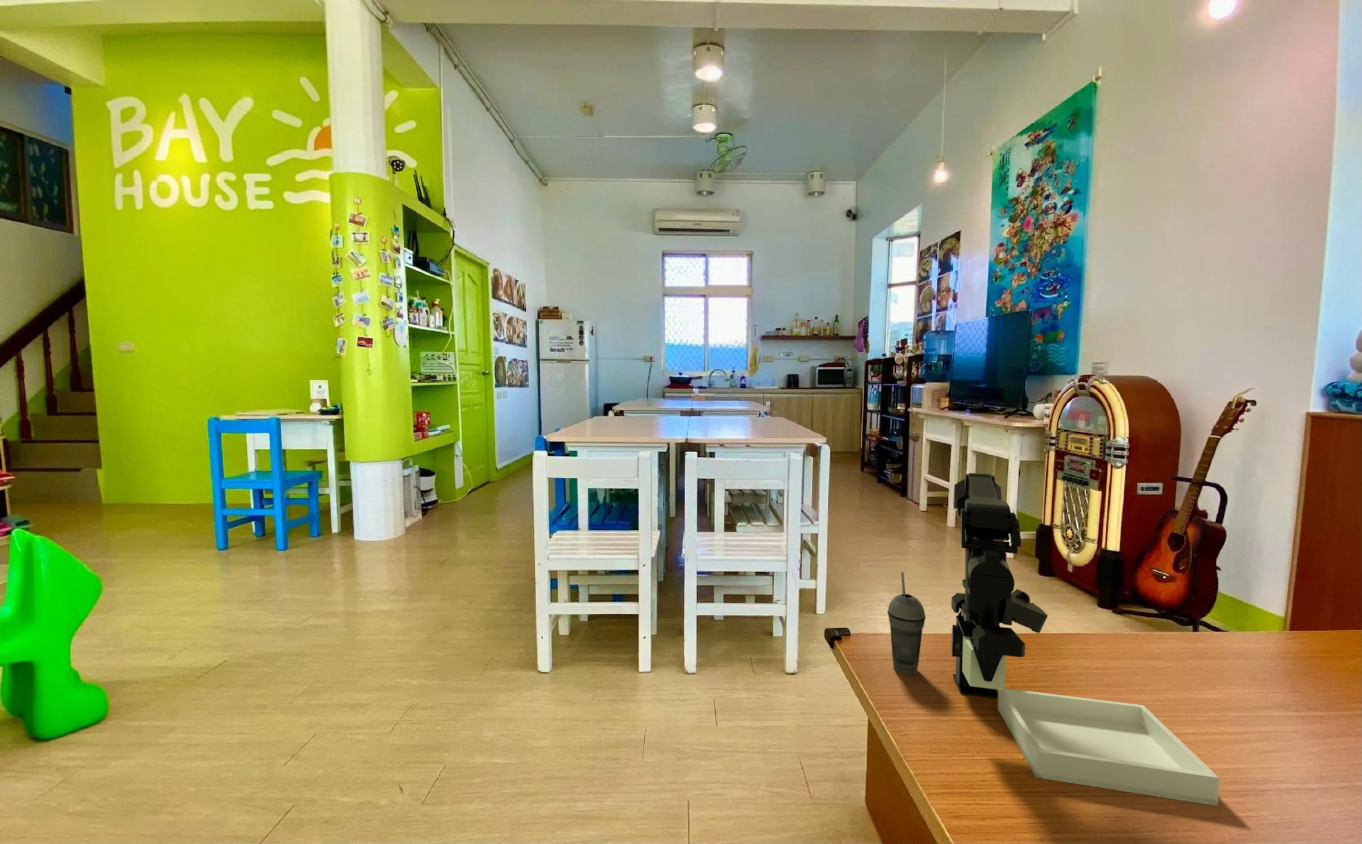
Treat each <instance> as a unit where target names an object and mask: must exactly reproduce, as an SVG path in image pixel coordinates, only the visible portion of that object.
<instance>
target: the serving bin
mask: <svg viewBox="0 0 1362 844" xmlns="http://www.w3.org/2000/svg"><path fill="white" fill-rule="evenodd" d="M997 693H998V697H997V711H998V712H999V714H1000V716H1001V718H1002V719H1003V721H1004V722H1005V725H1006V727H1007V728H1008V730H1009V732H1010V734H1011V735H1012V737H1013V739H1014V741H1015V742H1016V744H1017V746H1018V748H1019V750H1020V752H1022V754H1023V756H1024V759H1025V761H1026V762H1027V764H1028V766H1029V767H1030V770H1031V771H1032V772H1033V774H1034V776H1035V778H1036V779H1043V780H1048V781H1049V780H1050V781H1056V782H1061V783H1062V782H1063V783H1070V784H1076V785H1083V786H1088V787H1095V788H1100V789H1107V790H1114V791H1120V792H1125V793H1132V794H1138V795H1139V794H1140V795H1143V796H1144V795H1145V796H1152V797H1157V798H1164V799H1169V800H1170V799H1171V800H1177V801H1183V802H1190V803H1195V804H1196V803H1197V804H1202V805H1208V806H1215V807H1218V806H1219V787H1220V777H1218V775H1216V774H1215V772H1214V771H1212V769H1210V768H1209V767H1208V766H1207V765H1206V764H1205V763H1204V762H1203V761H1202V760H1201V759H1200V758H1199V757H1198V756H1197V755H1196V754H1195V753H1194V752H1193V751H1192V750H1190V748H1188V746H1187V745H1185V743H1183V742H1182V740H1180V739H1179V738H1178V737H1177V736H1176V735H1175V734H1174V733H1173V732H1172V731H1171V730H1170V729H1169V728H1167V726H1166V725H1165V724H1164V723H1162V722H1161V720H1160V719H1158V718H1157V717H1156V716H1155V715H1154V714H1153V713H1152V712H1151V711H1150V710H1149V709H1148V708H1147V707H1146V706H1145V705H1144V704H1136V703H1129V702H1128V703H1127V702H1118V701H1111V700H1104V699H1095V698H1087V697H1079V696H1078V697H1077V696H1071V695H1062V694H1055V693H1053V694H1052V693H1047V692H1038V691H1029V690H1022V689H1021V690H1020V689H1014V688H1007V687H1005V690H997Z"/></svg>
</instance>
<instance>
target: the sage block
mask: <svg viewBox="0 0 1362 844" xmlns="http://www.w3.org/2000/svg"><path fill="white" fill-rule="evenodd" d="M969 638H973V637H964V636H963V662H962V671H963V673H964V675H965V677H966V679H967V681H968V683H969V685H970V686H974V687H982V688H990V689H998V690H1005V688H1006V687H1005V686H1006V685H1005V684H1006V656H1005V655H1003V656H1002V658H1001V660H1000V663H999V665H998V667H997V670H996V672H995V675H994V677H993V680H992V681H991V682H988V681H984V679H983V676H982V674H981V671H980V668H979V665H978V662H977V659H976V657H975V654H974V651H973V648H972V645H971V643H970V640H969ZM998 690H997V691H998Z"/></svg>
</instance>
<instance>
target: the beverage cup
mask: <svg viewBox="0 0 1362 844" xmlns="http://www.w3.org/2000/svg"><path fill="white" fill-rule="evenodd" d="M904 574H905V573H904V571H901V572H900V577H901V578H900V579H901V590H902V591H901V592H902V593H901V594H898V595H895V596H894V597H893V598H892V599H891V601H890V602H889V604H888V608H887V615H888V621H889V628H890V640H891V641H890V642H891V654H892V655H891V656H892V657H891V658H892V663H893V664H892V665H893V670H894V671H896V672H897V673H899V674H901V675H907V676H913V675H916V674H917V673H918V668H919V661H920V653H921V645H922V644H921V643H922V637H923V636H922V635H923V628H924V627H925V621H926V617H927V616H926V615H925V613H926V612H925V609H924V606H923V604H922V602H921V601H920V600H919V598H917V597H915V596H914V595H912V594H909V593H906V585H905V584H906V583H905V575H904Z"/></svg>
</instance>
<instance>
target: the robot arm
mask: <svg viewBox="0 0 1362 844" xmlns="http://www.w3.org/2000/svg"><path fill="white" fill-rule="evenodd" d="M953 488H954V489H953V509H954V510H955V509H956V519H957V521H958V522H959V524H960V547H961V549H964V552H965V553H964V578H963V579H962V581H961V582H962V587H963V588H964V593H962V592H957V593H956V594H953V595H952V596H951V603H950V604H951V605H950V607H951V609H952V610H953V613H956V614H957V615H956V616H955V619H956V621H955V624H952V627H951V636H950V637H951V657H953V658H955V673H954V674H952V675H953V676H952V678H953V680H954V682H955V684H956V687H957V689H958V691H959V692H960V693H961V694H964V695H965V694H967V695H975V696H980V697H981V696H982V697H989V698H998V689H990V688H982V687H974V686H970V685H969V683H968V681H967V679H966V677H965V675H964V673H963V671H962V662H963V636H964V637H973V638H969V640H970V643H971V645H972V648H973V651H974V654H975V657H976V659H977V662H978V665H979V668H980V671H981V674H982V676H983V679H984V681H988V682H991V681H992V680H993V677H994V675H995V672H996V670H997V667H998V665H999V663H1000V660H1001V658H1002V656H1003V655H1005V656H1007V657H1017V658H1024V657H1025V656H1026V643H1025V642H1024V641H1023V640H1022V638H1021V636H1019V634H1018V633H1016V632H1015V631H1014V630H1013V628H1012V627H1007V626H1013V623H1016V624H1017V625H1020V626H1022V627H1025V628H1028V629H1029V630H1031V631H1032V632H1033V633H1036V634H1040V633H1041V632H1042V629H1043V627H1044V625H1045V623H1046V621H1047V618H1048V614H1047V613H1046V612H1045V611H1044V610H1043V609H1042V608H1041V607H1039V606H1038V605H1036V604H1035V603H1034V602H1031V598H1030V595H1029V594H1028V593H1026V592H1025V591H1022V590H1020V589H1015V579H1014V576H1013V573H1012V571H1011V569H1010V566H1009V564H1008V562H1007V554H1013V555H1014V554H1016V555H1018V548H1021V545H1022V539H1021V538H1022V537H1021V530H1020V529H1021V528H1020V520H1019V519H1018V518H1017V514H1016V513H1015V512H1013V511H1012V512H1011V507H1010V505H1009V504H1008V502H1007V501H1004V500H1003V499H1002V496H1003V495H1002V487H1001V486H1000V485H999V484H998V483H997V482H996V477H995V475H992V474H991V473H979V472H978V473H977V472H969V473H965V475H964V479H961V480H960V481H958V482H956V483H955V484H954V486H953ZM1014 589H1015V590H1014ZM1001 624H1002V625H1005V626H1006V627H1005V626H1000V625H1001Z"/></svg>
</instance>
